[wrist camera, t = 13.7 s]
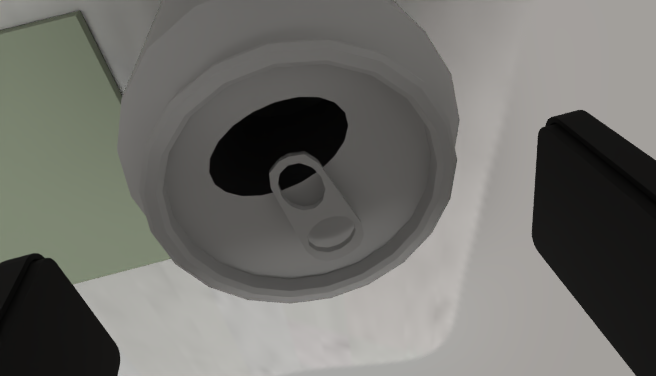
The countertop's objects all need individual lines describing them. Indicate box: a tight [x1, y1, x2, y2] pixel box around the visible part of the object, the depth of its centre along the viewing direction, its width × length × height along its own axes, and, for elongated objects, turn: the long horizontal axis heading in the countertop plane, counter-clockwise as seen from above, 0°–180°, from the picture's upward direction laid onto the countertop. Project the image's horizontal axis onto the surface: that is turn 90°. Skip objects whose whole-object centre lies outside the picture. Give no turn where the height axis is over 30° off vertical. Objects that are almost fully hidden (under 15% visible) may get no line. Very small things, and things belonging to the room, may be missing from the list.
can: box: [117, 0, 459, 303], centre depth 14 cm, size 8×8×12 cm
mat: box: [0, 11, 171, 284], centre depth 21 cm, size 12×10×1 cm
